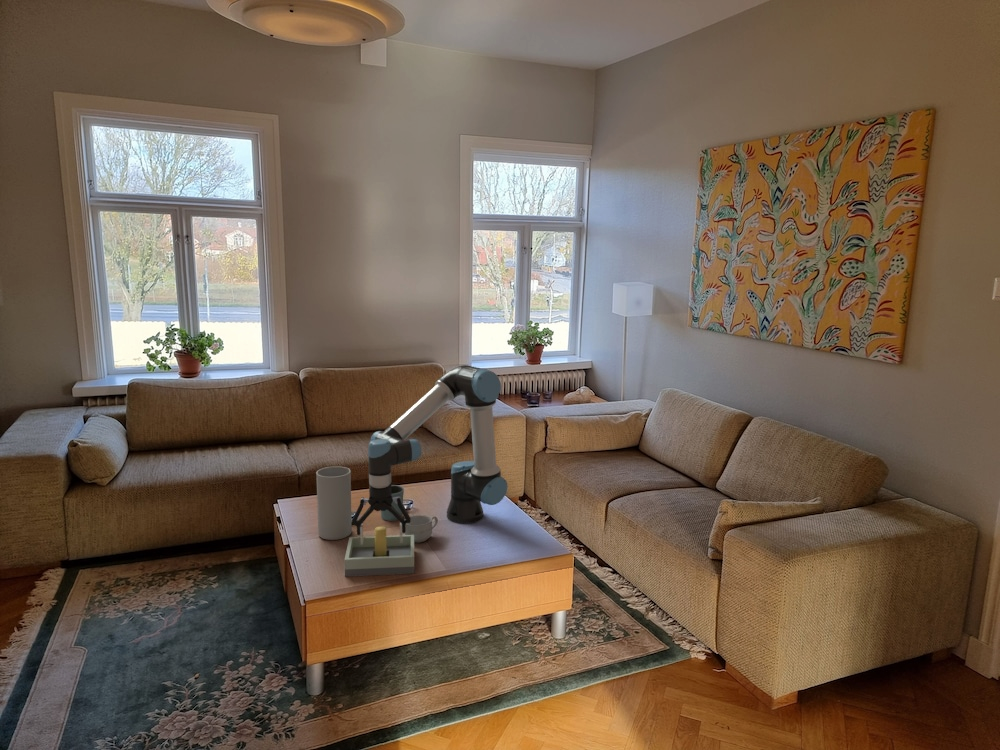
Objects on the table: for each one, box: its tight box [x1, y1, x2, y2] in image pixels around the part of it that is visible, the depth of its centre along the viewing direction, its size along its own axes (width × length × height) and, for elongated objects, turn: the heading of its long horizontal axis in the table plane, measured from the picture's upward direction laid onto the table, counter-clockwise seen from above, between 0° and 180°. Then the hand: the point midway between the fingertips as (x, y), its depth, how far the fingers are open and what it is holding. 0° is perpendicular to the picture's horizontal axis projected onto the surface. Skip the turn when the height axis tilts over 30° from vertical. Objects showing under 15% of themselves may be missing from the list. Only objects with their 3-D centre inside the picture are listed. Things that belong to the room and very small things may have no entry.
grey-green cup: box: [380, 484, 405, 522], centre depth 272 cm, size 10×10×12 cm
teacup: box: [404, 514, 439, 543], centre depth 252 cm, size 14×11×8 cm
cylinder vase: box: [315, 466, 353, 541], centre depth 253 cm, size 12×12×25 cm
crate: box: [344, 534, 415, 577], centre depth 232 cm, size 23×18×6 cm
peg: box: [374, 526, 387, 557], centre depth 233 cm, size 4×4×12 cm
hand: (381, 542), depth 233 cm, fingers open, 13 cm apart
